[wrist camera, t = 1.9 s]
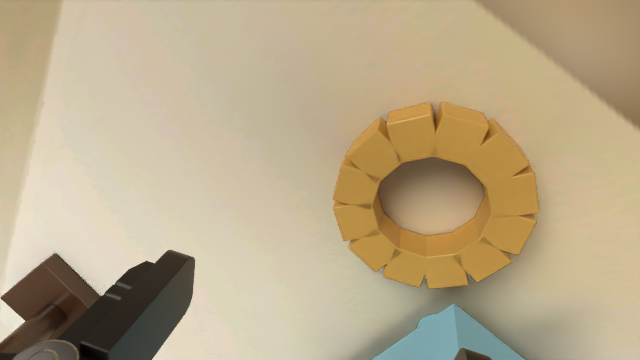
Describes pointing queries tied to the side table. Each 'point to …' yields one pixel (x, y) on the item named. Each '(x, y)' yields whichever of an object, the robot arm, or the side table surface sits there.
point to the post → (46, 304)
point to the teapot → (448, 339)
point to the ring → (455, 146)
